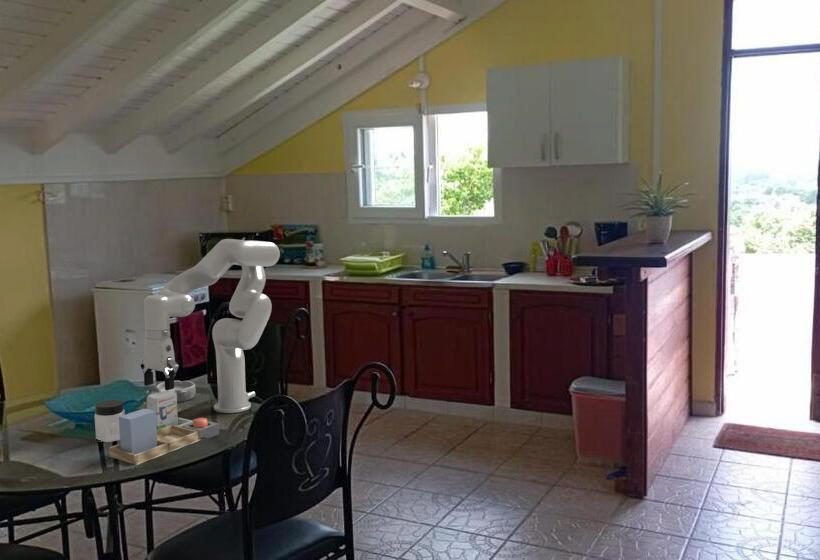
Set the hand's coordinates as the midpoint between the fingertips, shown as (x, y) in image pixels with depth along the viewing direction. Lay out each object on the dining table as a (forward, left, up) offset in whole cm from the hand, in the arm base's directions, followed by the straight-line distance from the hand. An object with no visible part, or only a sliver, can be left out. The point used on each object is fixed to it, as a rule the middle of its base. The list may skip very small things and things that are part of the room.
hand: (159, 387), depth 266 cm
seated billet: (+20, +14, -13) cm, 28 cm away
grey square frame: (-3, +15, -14) cm, 21 cm away
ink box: (-1, 0, -14) cm, 14 cm away
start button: (-3, +15, -13) cm, 20 cm away
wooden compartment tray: (+14, +14, -14) cm, 25 cm away
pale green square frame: (-1, 0, -14) cm, 14 cm away
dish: (-28, -24, -15) cm, 39 cm away
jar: (+15, -5, -14) cm, 22 cm away
